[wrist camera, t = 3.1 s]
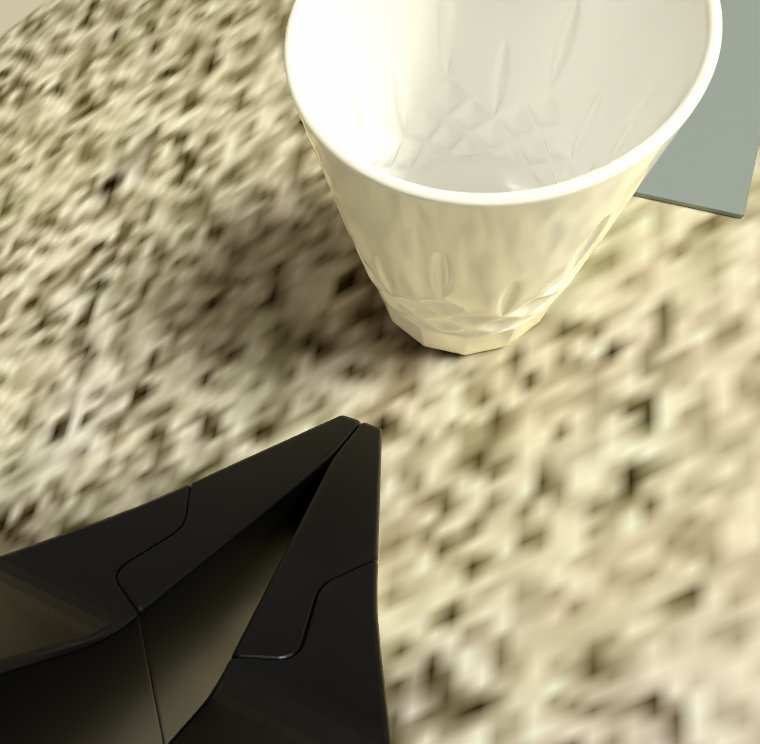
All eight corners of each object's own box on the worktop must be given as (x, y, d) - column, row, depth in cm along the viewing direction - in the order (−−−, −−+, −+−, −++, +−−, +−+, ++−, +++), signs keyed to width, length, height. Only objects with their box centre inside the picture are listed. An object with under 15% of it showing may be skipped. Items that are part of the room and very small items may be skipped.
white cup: (577, 372, 17) (761, 194, 7) (356, 370, 18) (261, 211, 8) (564, 181, 19) (693, -153, 9) (368, 188, 20) (302, -107, 10)
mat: (731, 227, 18) (744, 215, 17) (305, 133, 22) (301, 119, 21) (788, -40, 21) (801, -60, 20) (406, -84, 25) (405, -102, 24)
